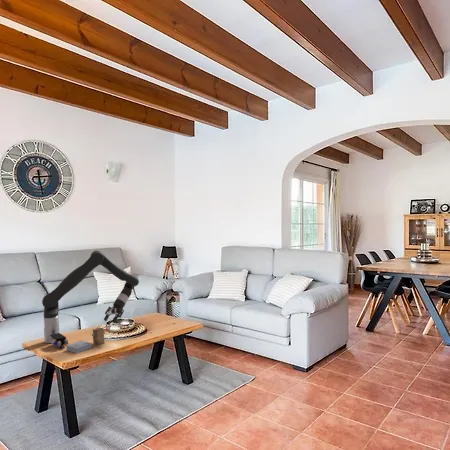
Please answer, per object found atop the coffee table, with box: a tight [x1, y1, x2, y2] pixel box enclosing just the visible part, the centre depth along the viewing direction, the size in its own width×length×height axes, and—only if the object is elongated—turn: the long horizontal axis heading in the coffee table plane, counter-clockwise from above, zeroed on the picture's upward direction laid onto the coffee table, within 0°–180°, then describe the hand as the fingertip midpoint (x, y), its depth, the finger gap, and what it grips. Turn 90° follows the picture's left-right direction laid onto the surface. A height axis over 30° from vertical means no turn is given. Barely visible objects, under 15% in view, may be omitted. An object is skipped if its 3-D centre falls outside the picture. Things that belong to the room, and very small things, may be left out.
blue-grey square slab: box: [65, 340, 93, 354], centre depth 246 cm, size 11×11×3 cm
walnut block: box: [92, 327, 105, 346], centre depth 255 cm, size 5×5×10 cm
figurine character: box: [50, 332, 69, 350], centre depth 253 cm, size 7×8×15 cm
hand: (108, 321), depth 263 cm, fingers open, 8 cm apart
